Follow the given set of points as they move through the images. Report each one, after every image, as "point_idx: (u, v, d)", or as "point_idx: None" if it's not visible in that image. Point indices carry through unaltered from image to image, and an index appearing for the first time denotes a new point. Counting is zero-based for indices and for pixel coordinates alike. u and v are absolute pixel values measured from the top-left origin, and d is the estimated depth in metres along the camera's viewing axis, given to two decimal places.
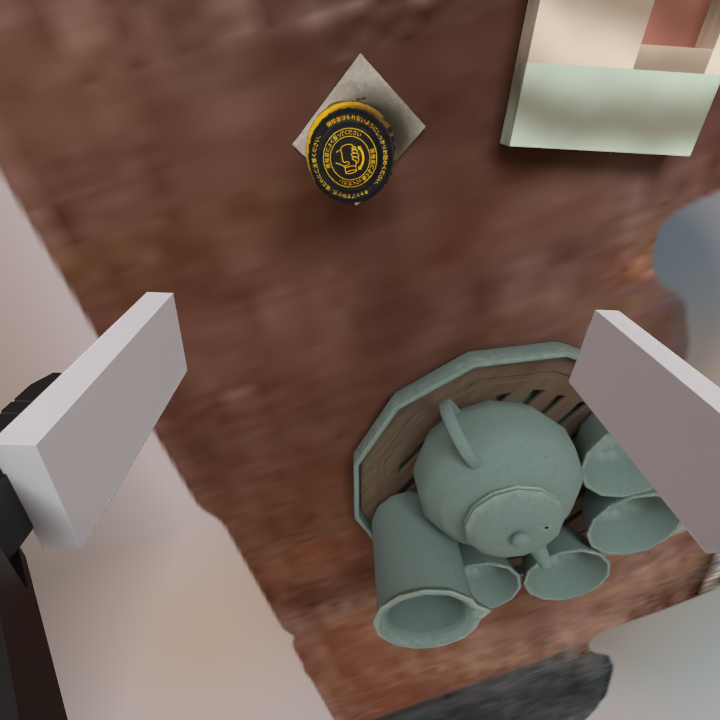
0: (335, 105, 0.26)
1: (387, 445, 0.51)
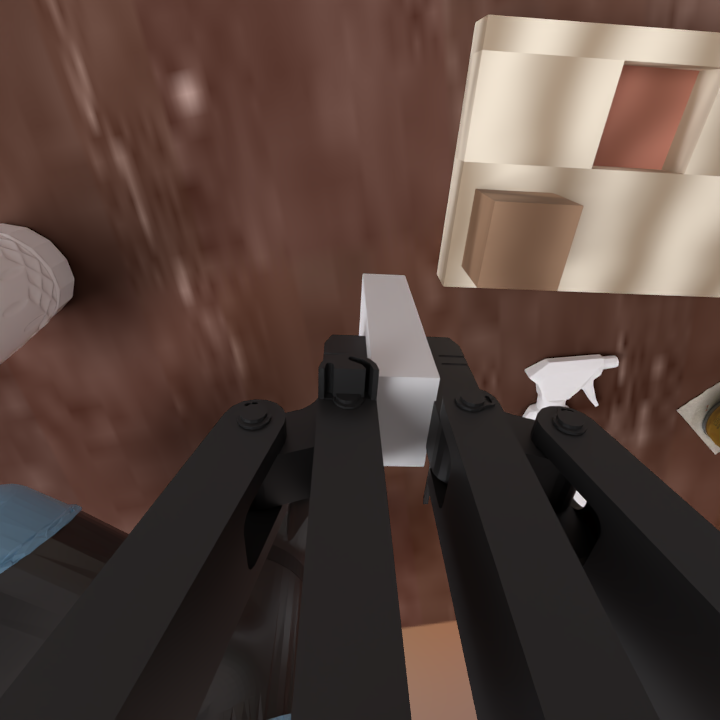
0: None
1: None
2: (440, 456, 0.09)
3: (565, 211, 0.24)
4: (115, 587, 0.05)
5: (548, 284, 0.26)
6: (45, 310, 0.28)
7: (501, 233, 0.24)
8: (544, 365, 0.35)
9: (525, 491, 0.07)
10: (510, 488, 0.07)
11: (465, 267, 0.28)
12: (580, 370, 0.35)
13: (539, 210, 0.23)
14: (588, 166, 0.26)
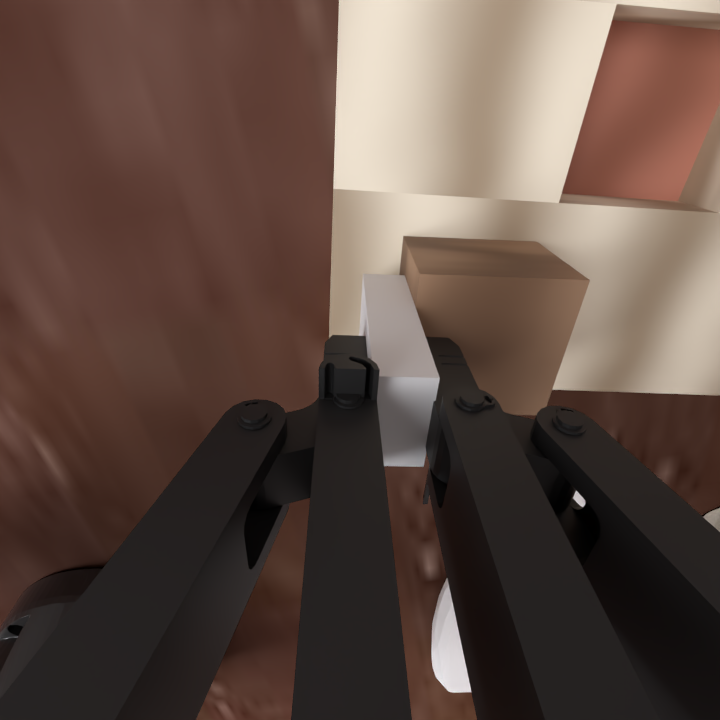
0: None
1: None
2: (440, 456, 0.09)
3: (555, 290, 0.12)
4: (115, 587, 0.05)
5: (527, 406, 0.15)
6: None
7: (437, 329, 0.13)
8: None
9: (525, 491, 0.07)
10: (510, 488, 0.07)
11: None
12: None
13: (506, 289, 0.12)
14: (553, 198, 0.15)
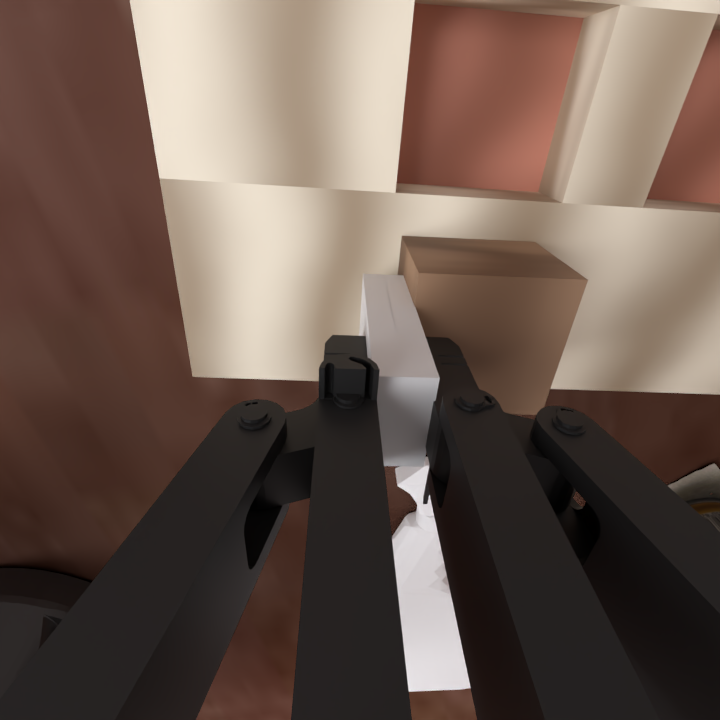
0: None
1: None
2: (440, 456, 0.09)
3: (553, 289, 0.13)
4: (115, 587, 0.05)
5: (525, 406, 0.15)
6: None
7: (436, 328, 0.13)
8: (419, 468, 0.24)
9: (525, 491, 0.07)
10: (510, 488, 0.07)
11: None
12: None
13: (504, 288, 0.12)
14: (388, 188, 0.15)
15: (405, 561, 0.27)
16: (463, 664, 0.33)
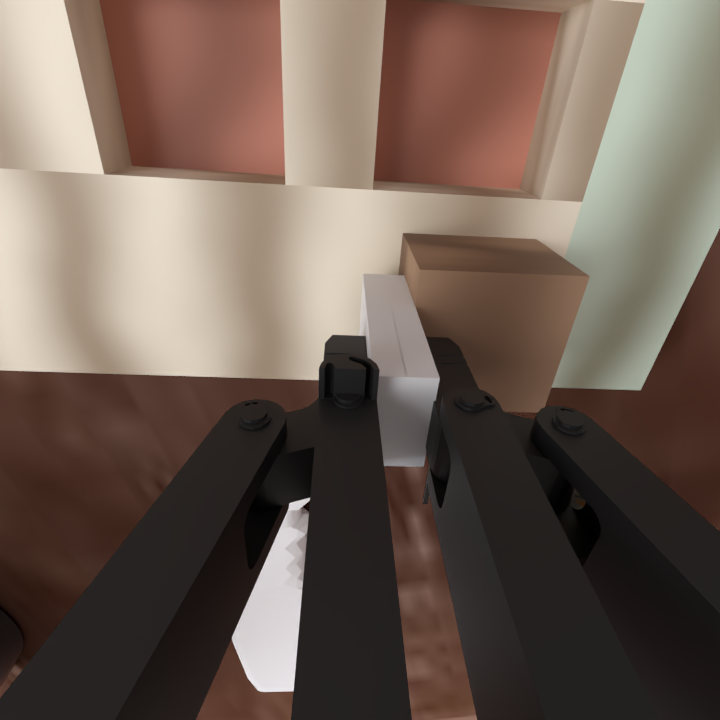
0: None
1: None
2: (440, 456, 0.09)
3: (555, 286, 0.12)
4: (115, 587, 0.05)
5: (527, 404, 0.15)
6: None
7: (437, 325, 0.13)
8: None
9: (525, 491, 0.07)
10: (510, 488, 0.07)
11: None
12: None
13: (506, 285, 0.12)
14: (95, 169, 0.14)
15: None
16: None
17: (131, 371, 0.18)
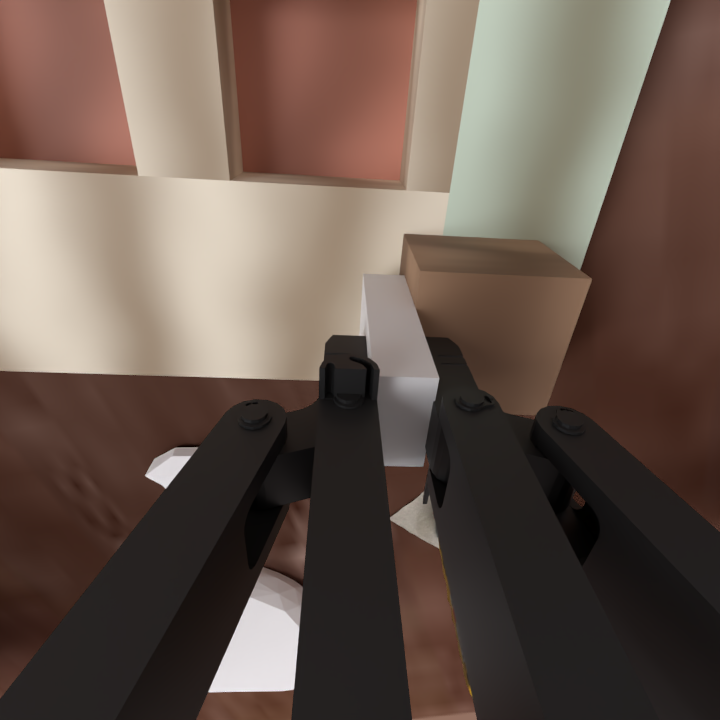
0: None
1: None
2: (439, 456, 0.09)
3: (557, 289, 0.12)
4: (116, 587, 0.05)
5: (528, 406, 0.15)
6: None
7: (437, 327, 0.13)
8: (166, 459, 0.23)
9: (524, 491, 0.07)
10: (509, 488, 0.07)
11: None
12: None
13: (507, 287, 0.12)
14: None
15: None
16: (276, 665, 0.32)
17: (12, 368, 0.18)
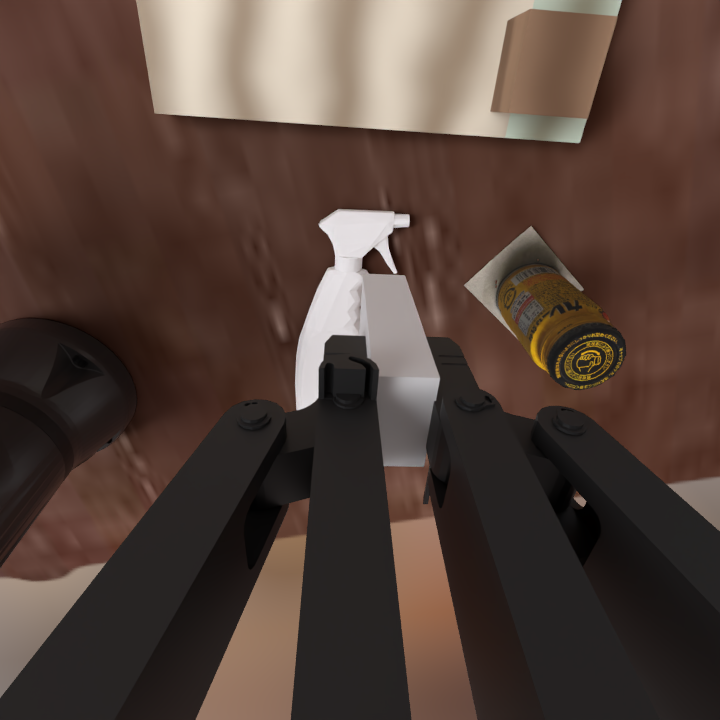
0: (532, 351, 0.32)
1: None
2: (440, 456, 0.09)
3: (599, 22, 0.24)
4: (115, 587, 0.05)
5: (579, 111, 0.26)
6: None
7: (535, 48, 0.24)
8: (334, 213, 0.34)
9: (525, 491, 0.07)
10: (510, 488, 0.07)
11: (495, 107, 0.29)
12: (370, 223, 0.34)
13: (574, 20, 0.24)
14: None
15: (326, 301, 0.37)
16: None
17: (260, 118, 0.29)
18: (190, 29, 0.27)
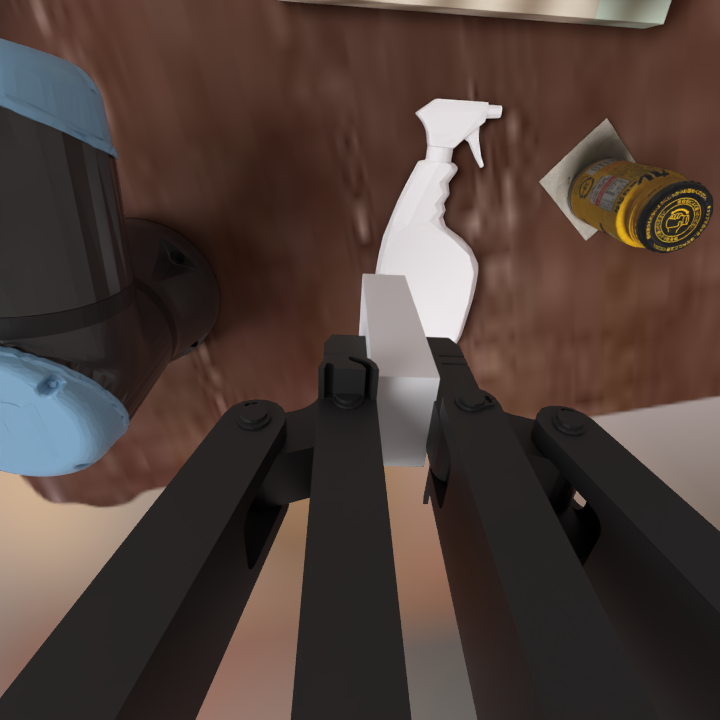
0: (617, 223, 0.35)
1: None
2: (440, 456, 0.09)
3: None
4: (115, 587, 0.05)
5: None
6: None
7: None
8: (432, 102, 0.37)
9: (525, 491, 0.07)
10: (510, 488, 0.07)
11: None
12: (465, 111, 0.37)
13: None
14: None
15: (415, 192, 0.40)
16: (446, 318, 0.46)
17: None
18: None
